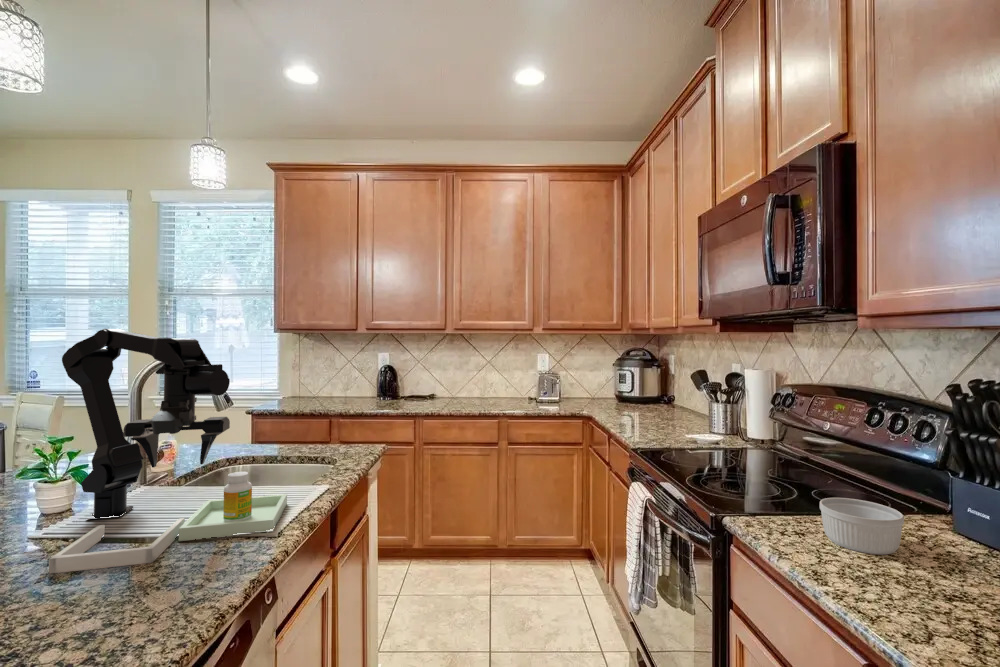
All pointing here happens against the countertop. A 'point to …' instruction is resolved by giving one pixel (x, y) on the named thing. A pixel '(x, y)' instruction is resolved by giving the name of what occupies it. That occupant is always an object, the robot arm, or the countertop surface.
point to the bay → (109, 552)
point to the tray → (213, 525)
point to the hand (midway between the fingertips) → (178, 465)
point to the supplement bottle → (237, 497)
